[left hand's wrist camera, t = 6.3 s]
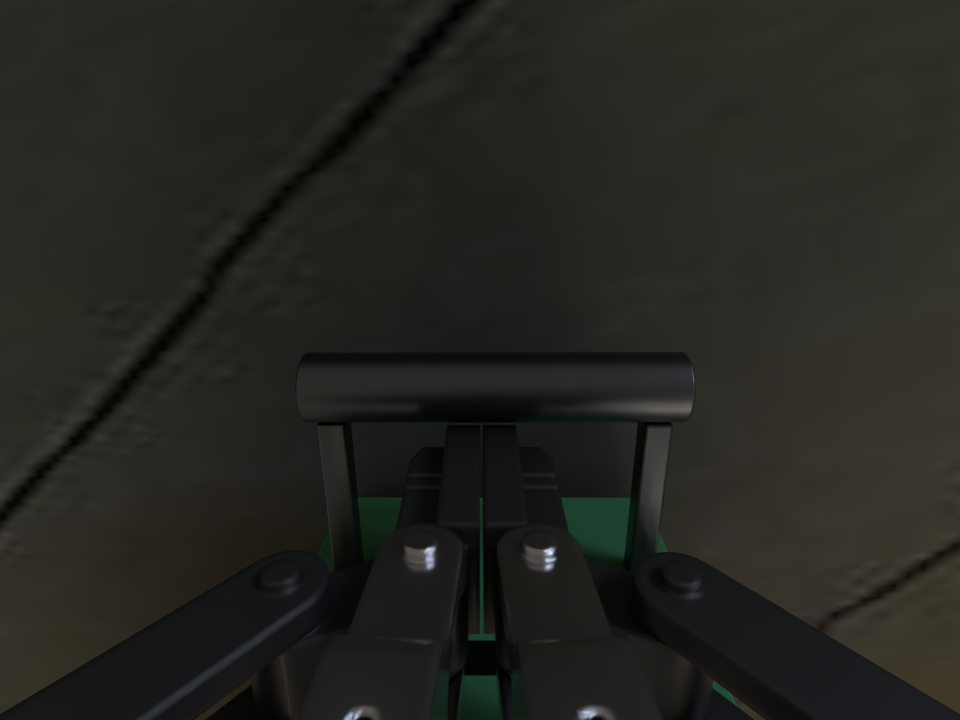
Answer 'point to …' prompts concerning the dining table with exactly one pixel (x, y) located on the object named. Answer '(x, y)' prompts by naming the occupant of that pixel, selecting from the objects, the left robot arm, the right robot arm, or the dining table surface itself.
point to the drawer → (497, 398)
